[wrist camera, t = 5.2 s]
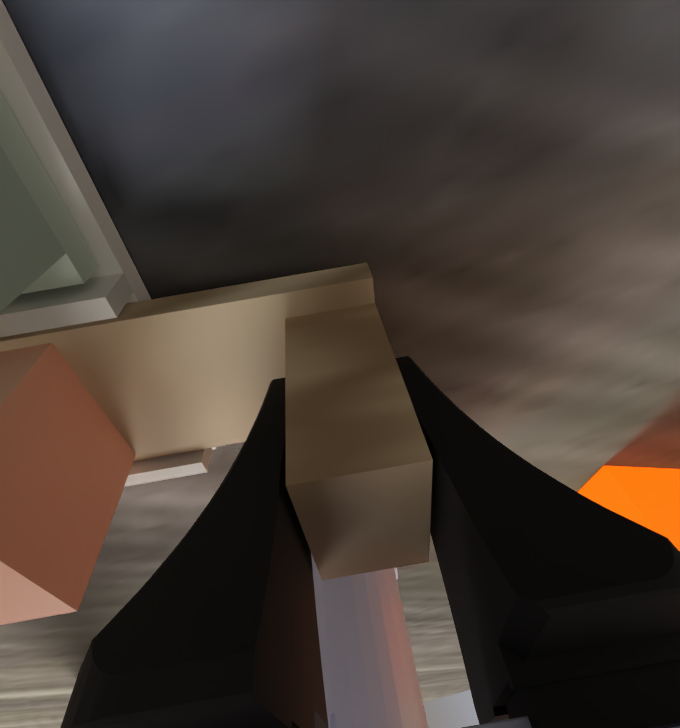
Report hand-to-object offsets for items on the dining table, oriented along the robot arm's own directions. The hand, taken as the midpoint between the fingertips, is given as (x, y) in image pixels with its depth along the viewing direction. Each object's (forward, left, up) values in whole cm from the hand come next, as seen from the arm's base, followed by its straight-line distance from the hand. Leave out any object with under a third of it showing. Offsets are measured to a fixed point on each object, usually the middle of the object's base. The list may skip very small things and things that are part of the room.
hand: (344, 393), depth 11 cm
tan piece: (0, +6, -2) cm, 6 cm away
